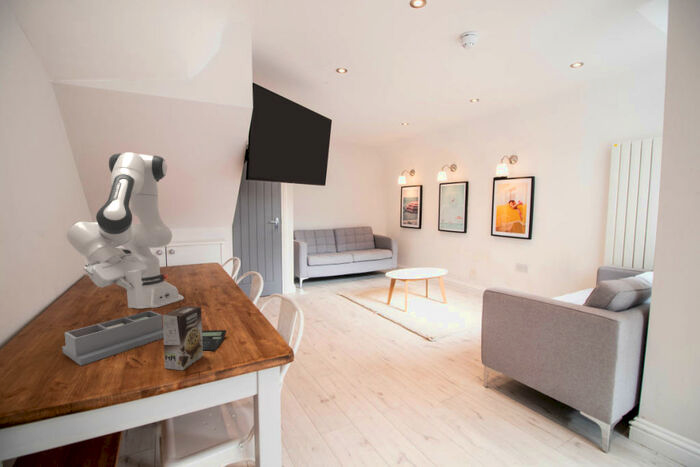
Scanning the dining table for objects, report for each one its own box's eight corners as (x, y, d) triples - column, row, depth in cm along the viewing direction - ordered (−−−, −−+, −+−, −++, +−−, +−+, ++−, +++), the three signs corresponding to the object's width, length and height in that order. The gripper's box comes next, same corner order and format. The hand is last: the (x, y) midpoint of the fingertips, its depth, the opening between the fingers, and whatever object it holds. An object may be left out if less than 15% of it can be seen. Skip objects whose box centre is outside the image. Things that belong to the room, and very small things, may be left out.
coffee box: (183, 370, 89) (180, 316, 88) (164, 368, 91) (161, 314, 89) (204, 356, 98) (202, 306, 97) (186, 354, 100) (184, 305, 98)
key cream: (122, 328, 110) (121, 323, 110) (128, 331, 108) (127, 325, 107) (106, 333, 106) (106, 327, 106) (112, 336, 104) (111, 330, 104)
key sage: (146, 321, 117) (146, 316, 117) (152, 324, 114) (152, 318, 114) (133, 325, 113) (132, 320, 113) (139, 328, 110) (138, 322, 110)
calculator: (185, 353, 101) (185, 344, 101) (199, 338, 112) (199, 330, 112) (215, 352, 102) (214, 343, 101) (226, 337, 113) (226, 329, 113)
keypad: (146, 327, 122) (145, 308, 121) (167, 336, 113) (166, 316, 113) (62, 352, 101) (60, 330, 101) (80, 365, 92) (78, 341, 92)
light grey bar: (134, 304, 113) (132, 269, 112) (143, 304, 113) (140, 269, 112) (128, 307, 110) (125, 271, 109) (136, 307, 110) (134, 271, 109)
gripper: (86, 258, 100) (118, 288, 100) (134, 249, 120) (160, 274, 121) (74, 272, 101) (106, 302, 101) (124, 260, 121) (150, 285, 121)
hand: (136, 286), depth 111 cm, fingers closed on light grey bar, 3 cm apart
